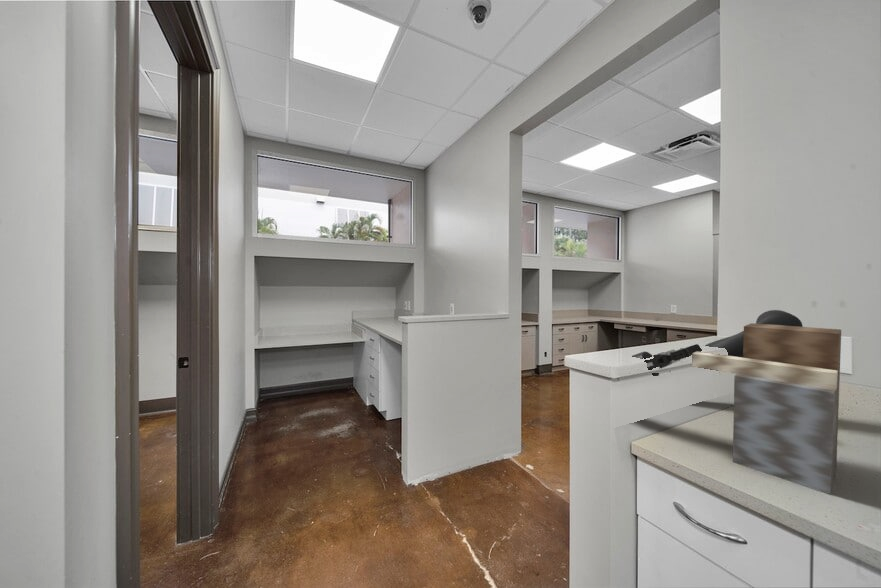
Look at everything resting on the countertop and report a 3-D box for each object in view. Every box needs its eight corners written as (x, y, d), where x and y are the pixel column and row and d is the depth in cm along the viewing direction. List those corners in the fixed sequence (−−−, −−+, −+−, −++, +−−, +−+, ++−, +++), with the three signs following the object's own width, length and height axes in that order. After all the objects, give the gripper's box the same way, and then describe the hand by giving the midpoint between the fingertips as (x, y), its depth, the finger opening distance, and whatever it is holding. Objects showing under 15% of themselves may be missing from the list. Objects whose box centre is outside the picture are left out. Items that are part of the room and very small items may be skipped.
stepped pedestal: (732, 461, 77) (735, 329, 76) (748, 440, 87) (751, 323, 85) (830, 494, 65) (835, 338, 64) (836, 466, 75) (841, 329, 73)
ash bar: (692, 366, 85) (692, 353, 85) (696, 364, 87) (696, 351, 87) (835, 390, 66) (836, 373, 65) (837, 386, 68) (837, 370, 68)
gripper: (653, 375, 100) (711, 359, 88) (632, 384, 92) (693, 367, 80) (640, 352, 103) (695, 333, 91) (619, 359, 94) (676, 339, 83)
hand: (694, 349), depth 85 cm, fingers open, 8 cm apart
